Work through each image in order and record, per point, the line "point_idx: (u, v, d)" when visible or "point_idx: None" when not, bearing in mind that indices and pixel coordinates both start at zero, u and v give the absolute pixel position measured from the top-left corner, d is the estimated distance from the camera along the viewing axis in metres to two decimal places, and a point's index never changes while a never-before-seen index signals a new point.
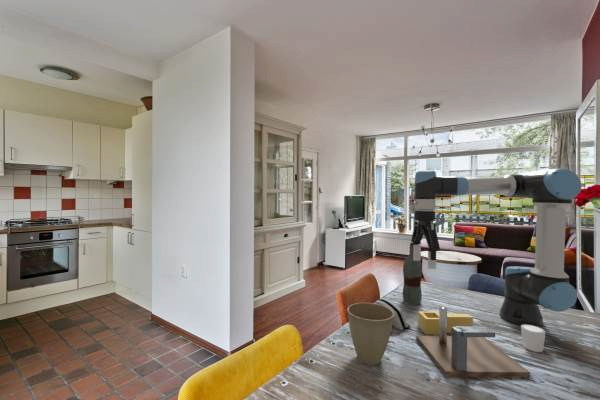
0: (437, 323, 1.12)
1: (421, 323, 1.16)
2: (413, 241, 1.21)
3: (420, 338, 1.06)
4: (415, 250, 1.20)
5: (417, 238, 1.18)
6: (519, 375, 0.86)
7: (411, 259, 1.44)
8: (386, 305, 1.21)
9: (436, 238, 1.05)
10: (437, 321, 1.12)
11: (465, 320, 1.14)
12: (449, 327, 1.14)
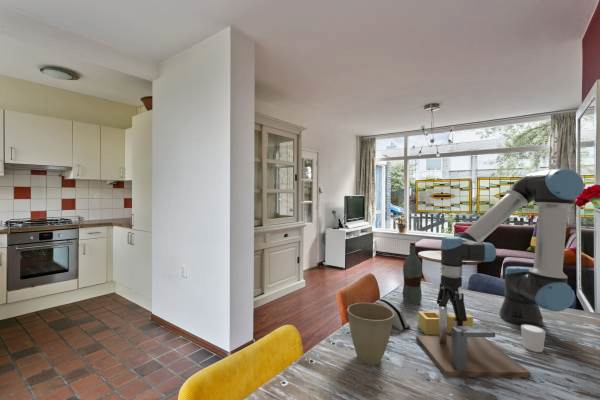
0: (437, 323, 1.12)
1: (421, 323, 1.16)
2: (439, 304, 1.22)
3: (420, 338, 1.06)
4: None
5: (443, 301, 1.20)
6: (519, 375, 0.86)
7: (411, 259, 1.44)
8: (386, 305, 1.21)
9: (463, 308, 1.08)
10: (437, 321, 1.12)
11: None
12: (449, 327, 1.14)
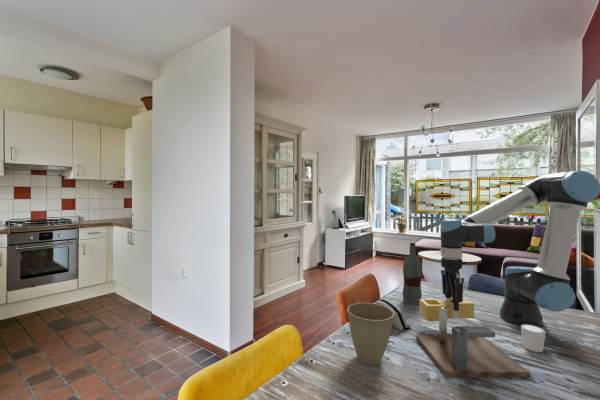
0: (438, 310, 1.12)
1: (422, 310, 1.16)
2: (445, 294, 1.19)
3: (420, 338, 1.06)
4: None
5: (448, 288, 1.17)
6: (519, 375, 0.86)
7: (411, 259, 1.44)
8: (386, 305, 1.21)
9: (461, 292, 1.10)
10: (438, 308, 1.12)
11: (466, 306, 1.14)
12: (450, 313, 1.14)
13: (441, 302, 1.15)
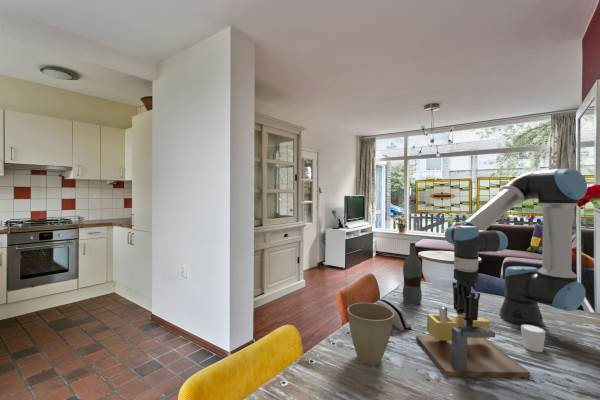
0: (449, 328, 0.99)
1: (430, 327, 1.03)
2: (456, 309, 1.06)
3: (420, 338, 1.06)
4: None
5: (460, 303, 1.04)
6: (519, 375, 0.86)
7: (411, 259, 1.44)
8: (387, 305, 1.21)
9: (476, 309, 0.97)
10: (449, 325, 0.99)
11: (480, 324, 1.01)
12: None
13: (452, 319, 1.02)
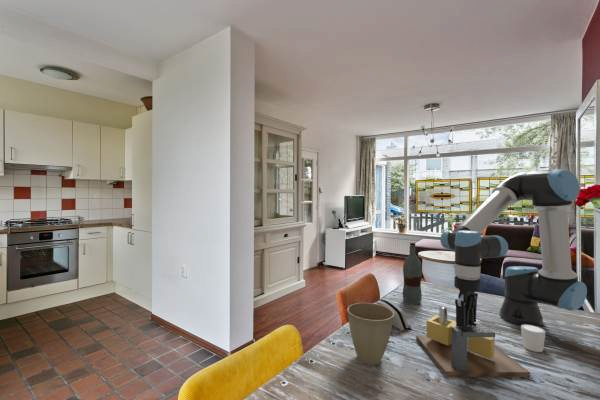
0: (439, 329, 1.00)
1: None
2: None
3: (420, 338, 1.06)
4: None
5: None
6: (519, 375, 0.86)
7: (411, 259, 1.44)
8: (387, 305, 1.20)
9: (462, 317, 0.93)
10: (439, 327, 1.00)
11: (479, 339, 0.92)
12: None
13: (451, 325, 1.00)
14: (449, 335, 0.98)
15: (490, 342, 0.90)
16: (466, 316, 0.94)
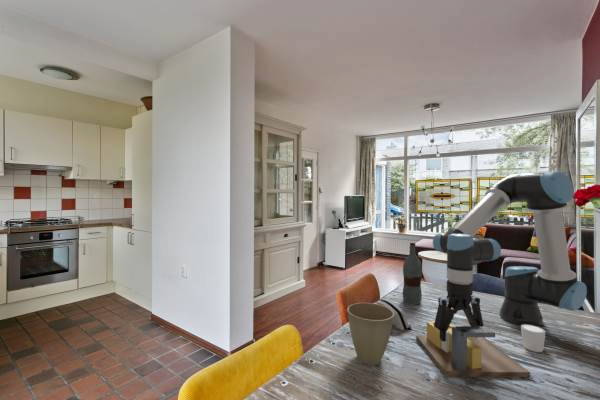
0: (434, 332, 1.01)
1: None
2: None
3: (420, 338, 1.06)
4: None
5: (467, 317, 0.96)
6: (519, 375, 0.86)
7: (411, 259, 1.44)
8: (387, 305, 1.20)
9: (440, 316, 0.93)
10: (434, 329, 1.01)
11: None
12: (450, 346, 0.96)
13: (448, 330, 0.99)
14: None
15: (472, 351, 0.87)
16: (448, 318, 0.93)
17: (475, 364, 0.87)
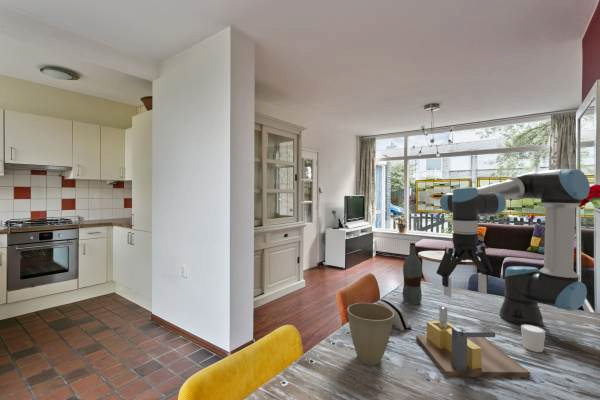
0: (434, 332, 1.01)
1: None
2: None
3: (420, 338, 1.06)
4: (479, 280, 1.01)
5: (476, 265, 1.00)
6: (519, 375, 0.86)
7: (411, 259, 1.44)
8: (387, 306, 1.20)
9: (444, 263, 0.96)
10: (434, 329, 1.01)
11: None
12: (450, 346, 0.96)
13: (448, 330, 0.99)
14: (442, 339, 0.99)
15: (472, 351, 0.87)
16: (452, 265, 0.96)
17: (475, 364, 0.87)
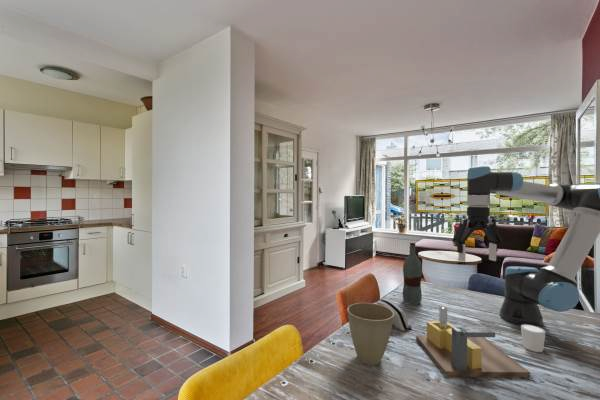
0: (434, 332, 1.01)
1: None
2: None
3: (420, 338, 1.06)
4: (490, 249, 1.14)
5: (487, 236, 1.14)
6: (519, 375, 0.86)
7: (411, 259, 1.44)
8: (387, 306, 1.20)
9: (460, 232, 1.10)
10: (434, 329, 1.01)
11: None
12: (450, 346, 0.96)
13: (448, 330, 0.99)
14: (442, 339, 0.99)
15: (472, 351, 0.87)
16: (466, 234, 1.10)
17: (475, 364, 0.87)
